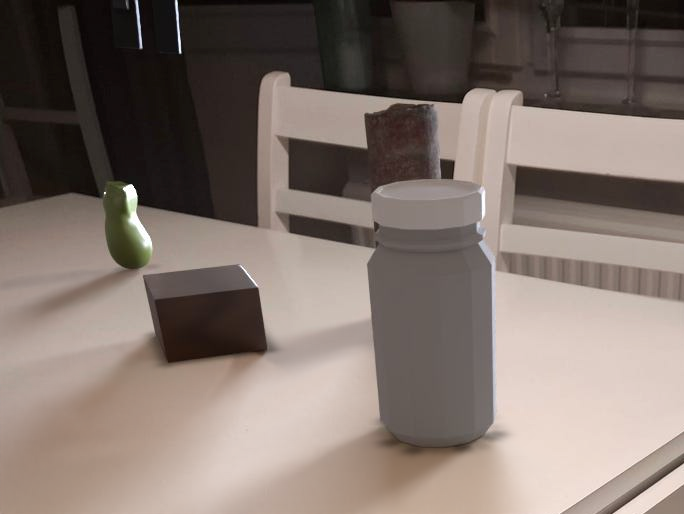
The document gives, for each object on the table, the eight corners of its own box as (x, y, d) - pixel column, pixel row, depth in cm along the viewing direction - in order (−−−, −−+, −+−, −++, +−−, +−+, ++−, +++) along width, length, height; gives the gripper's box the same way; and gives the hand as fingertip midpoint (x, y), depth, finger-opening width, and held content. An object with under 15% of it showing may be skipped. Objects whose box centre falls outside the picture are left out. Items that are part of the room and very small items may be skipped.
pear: (121, 263, 131) (102, 177, 125) (161, 262, 131) (144, 176, 125) (107, 274, 127) (86, 185, 121) (149, 273, 127) (130, 185, 120)
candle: (403, 332, 105) (388, 110, 93) (367, 316, 110) (348, 103, 98) (462, 318, 109) (455, 102, 96) (425, 303, 113) (414, 95, 101)
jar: (410, 401, 89) (395, 174, 78) (513, 414, 86) (513, 179, 75) (361, 442, 82) (337, 198, 71) (471, 458, 79) (464, 206, 68)
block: (167, 363, 99) (154, 299, 95) (155, 335, 106) (142, 274, 103) (267, 349, 102) (258, 287, 98) (249, 322, 109) (239, 263, 105)
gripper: (119, -232, 92) (145, 48, 103) (199, -170, 113) (213, 56, 124) (37, -238, 92) (73, 42, 103) (132, -175, 113) (153, 52, 124)
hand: (149, 51), depth 114 cm, fingers open, 13 cm apart
